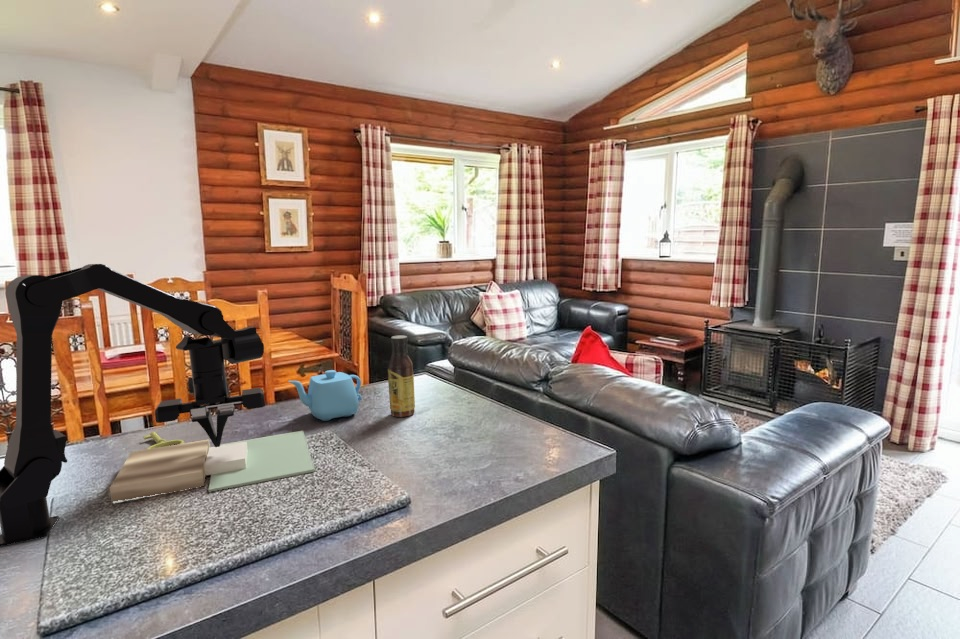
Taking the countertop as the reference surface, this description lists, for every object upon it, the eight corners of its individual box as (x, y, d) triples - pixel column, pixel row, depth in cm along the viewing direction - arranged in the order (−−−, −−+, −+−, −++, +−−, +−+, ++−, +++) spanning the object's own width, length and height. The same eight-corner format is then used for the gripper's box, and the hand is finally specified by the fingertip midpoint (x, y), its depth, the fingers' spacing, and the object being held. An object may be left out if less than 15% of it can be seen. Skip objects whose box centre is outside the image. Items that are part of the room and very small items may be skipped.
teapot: (286, 416, 135) (282, 373, 133) (355, 403, 144) (351, 362, 142) (297, 430, 124) (293, 382, 123) (371, 414, 133) (367, 370, 132)
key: (155, 439, 123) (153, 430, 123) (189, 446, 118) (188, 437, 117) (122, 451, 117) (121, 441, 116) (157, 459, 111) (156, 449, 111)
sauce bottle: (387, 413, 134) (382, 335, 131) (411, 408, 137) (406, 333, 134) (394, 420, 128) (389, 339, 125) (419, 415, 131) (414, 336, 128)
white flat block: (246, 468, 102) (244, 458, 102) (205, 475, 99) (204, 465, 99) (247, 450, 111) (246, 441, 111) (210, 456, 109) (209, 447, 108)
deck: (203, 486, 96) (201, 471, 95) (112, 504, 90) (109, 488, 90) (210, 452, 112) (209, 439, 112) (133, 466, 107) (131, 451, 106)
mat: (314, 471, 100) (314, 469, 100) (208, 492, 93) (208, 489, 93) (303, 432, 122) (303, 430, 122) (216, 447, 115) (216, 445, 115)
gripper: (259, 355, 113) (267, 425, 115) (159, 367, 106) (169, 441, 108) (260, 365, 103) (268, 442, 105) (149, 379, 96) (160, 461, 98)
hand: (217, 446), depth 104 cm, fingers closed
